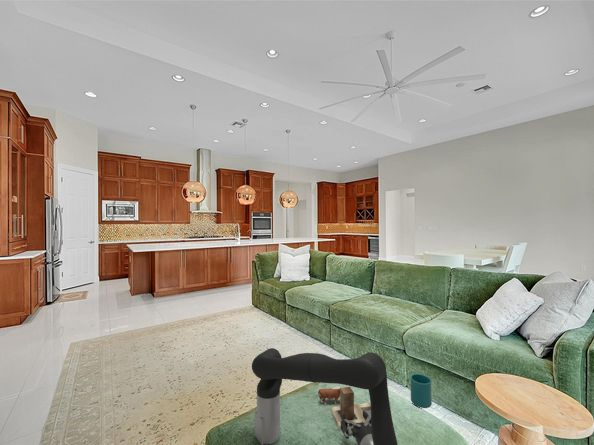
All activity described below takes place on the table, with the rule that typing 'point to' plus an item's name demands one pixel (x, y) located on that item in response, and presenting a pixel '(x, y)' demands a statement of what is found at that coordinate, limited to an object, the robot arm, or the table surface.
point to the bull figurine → (329, 394)
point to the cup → (421, 390)
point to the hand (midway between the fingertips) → (353, 414)
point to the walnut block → (347, 402)
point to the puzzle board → (357, 413)
